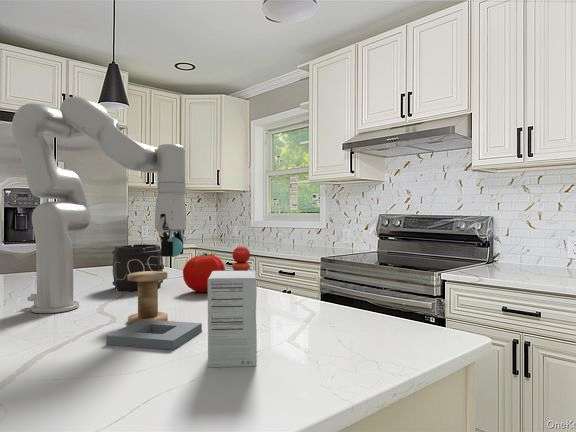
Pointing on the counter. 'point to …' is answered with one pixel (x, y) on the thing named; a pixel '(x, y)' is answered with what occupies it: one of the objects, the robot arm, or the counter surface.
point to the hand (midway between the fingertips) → (172, 254)
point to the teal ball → (176, 246)
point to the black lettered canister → (135, 264)
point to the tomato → (201, 271)
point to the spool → (147, 296)
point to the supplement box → (232, 319)
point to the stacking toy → (241, 259)
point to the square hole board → (142, 336)
